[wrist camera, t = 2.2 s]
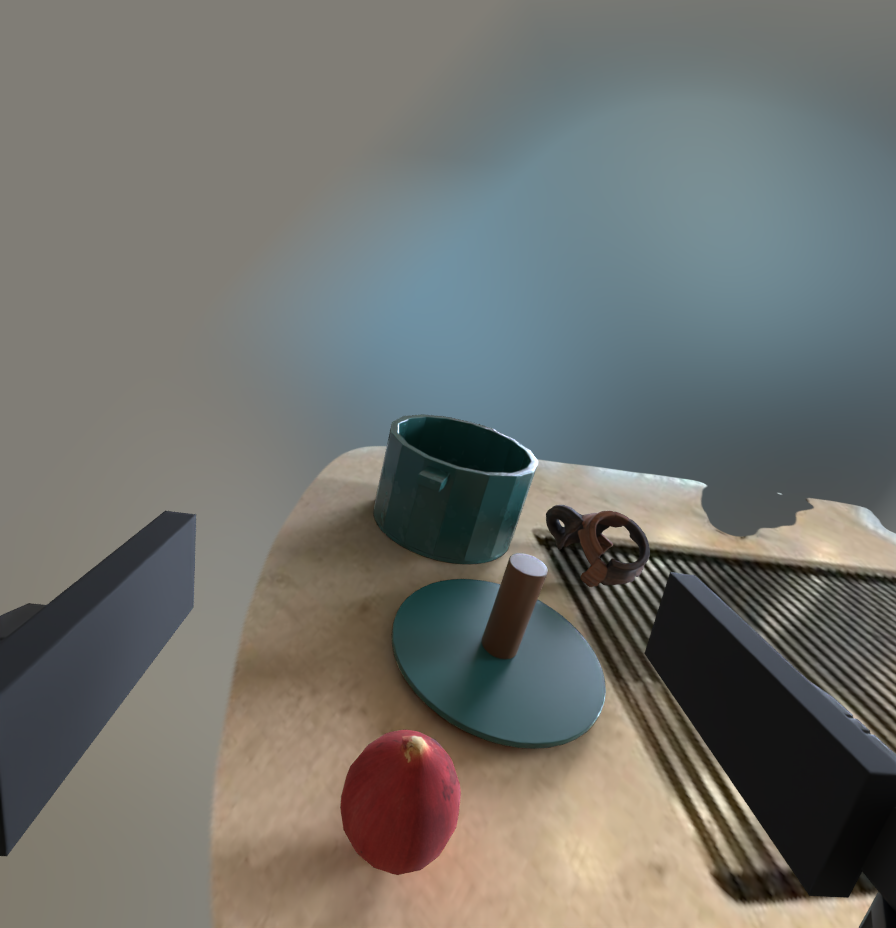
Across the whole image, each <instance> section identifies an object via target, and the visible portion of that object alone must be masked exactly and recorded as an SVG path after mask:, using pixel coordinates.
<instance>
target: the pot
mask: <svg viewBox="0 0 896 928" xmlns="http://www.w3.org/2000/svg"><path fill="white" fill-rule="evenodd" d="M537 465H538V462H537V460H536V459H535V457H534V455H533V454H532V452H531V451H530V450H528V449H527V448H526V447H524V446H523V445H521V444H520V443H519V442H517V441H516V440H514V439H512V438H510V437H508V436H506V435H504V434H502V433H500V432H498V431H496V430H494V429H492V428H489V427H486V426H483V425H480V424H475V423H472V422H468V421H463V420H459V419H454V418H450V417H444V416H443V417H442V416H433V415H412V416H403V417H401V418H400V419H397V420H396V421H393V422H392V425H391V429H390V434H389V439H388V443H387V448H386V452H385V457H384V462H383V466H382V471H381V476H380V480H379V485H378V490H377V494H376V499H375V505H374V518H375V521H376V523H377V525H378V526H379V528H380V529H381V530H382V531H383V532H384V533H385V534H386V535H387V536H388V537H389V538H390V539H392V540H393V541H394V542H396V543H397V544H399V545H401V546H402V547H404V548H406V549H408V550H410V551H412V552H414V553H417V554H419V555H422V556H425V557H428V558H431V559H435V560H439V561H443V562H449V563H456V564H479V563H485V562H489V561H493V560H495V559H497V558H499V557H501V556H502V555H503V554H504V553H505V552H506V551H507V550H508V548H509V545H510V543H511V541H512V538H513V535H514V532H515V530H516V527H517V524H518V521H519V518H520V515H521V512H522V509H523V506H524V503H525V500H526V497H527V494H528V491H529V488H530V485H531V482H532V480H533V477H534V474H535V471H536V468H537Z"/></svg>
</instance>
